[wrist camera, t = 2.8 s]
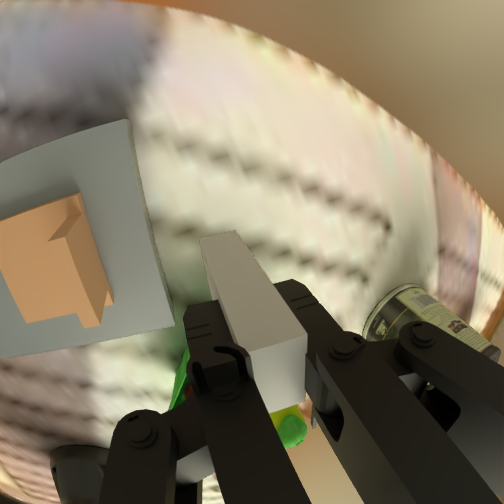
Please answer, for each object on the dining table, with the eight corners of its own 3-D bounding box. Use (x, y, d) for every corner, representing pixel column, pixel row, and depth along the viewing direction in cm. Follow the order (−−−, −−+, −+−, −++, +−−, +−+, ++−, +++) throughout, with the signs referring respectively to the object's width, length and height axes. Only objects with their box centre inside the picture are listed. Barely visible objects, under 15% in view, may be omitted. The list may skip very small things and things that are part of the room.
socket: (172, 302, 23) (175, 325, 20) (-1, 339, 19) (-10, 359, 16) (130, 120, 16) (124, 118, 14) (-60, 197, 12) (-80, 208, 10)
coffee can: (366, 364, 35) (428, 438, 23) (356, 314, 30) (441, 403, 18) (422, 322, 36) (488, 382, 24) (422, 267, 31) (511, 331, 19)
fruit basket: (194, 283, 23) (229, 397, 13) (288, 304, 26) (354, 395, 17) (159, 380, 26) (176, 484, 16) (240, 389, 30) (277, 477, 20)
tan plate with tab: (114, 297, 18) (108, 341, 14) (29, 316, 16) (11, 357, 12) (80, 191, 15) (57, 213, 11) (-10, 223, 13) (-44, 251, 9)
